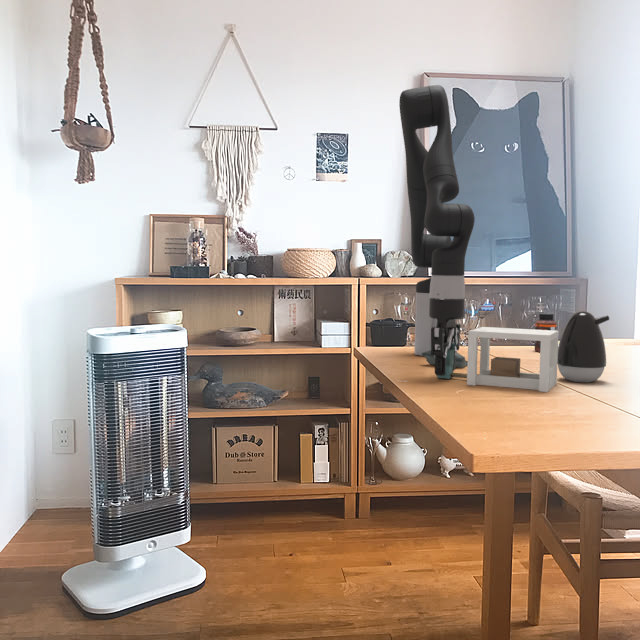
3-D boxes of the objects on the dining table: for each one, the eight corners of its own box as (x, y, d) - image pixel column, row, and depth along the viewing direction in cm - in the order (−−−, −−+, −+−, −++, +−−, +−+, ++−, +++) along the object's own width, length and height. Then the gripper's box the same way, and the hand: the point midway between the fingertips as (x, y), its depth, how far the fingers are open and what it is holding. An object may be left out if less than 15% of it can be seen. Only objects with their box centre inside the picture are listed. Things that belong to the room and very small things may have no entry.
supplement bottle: (558, 353, 203) (560, 314, 202) (537, 352, 203) (539, 313, 202) (551, 350, 209) (553, 312, 208) (531, 350, 209) (533, 312, 208)
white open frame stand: (481, 377, 155) (483, 326, 154) (556, 383, 148) (558, 330, 147) (466, 384, 145) (468, 330, 144) (547, 392, 137) (549, 335, 136)
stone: (428, 366, 180) (416, 359, 171) (431, 351, 180) (420, 343, 171) (468, 374, 175) (459, 366, 166) (472, 358, 175) (462, 350, 166)
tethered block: (442, 375, 156) (442, 348, 155) (519, 381, 148) (520, 353, 148) (435, 378, 151) (435, 350, 151) (514, 385, 144) (515, 356, 143)
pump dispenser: (607, 386, 146) (610, 313, 145) (554, 382, 149) (557, 311, 148) (605, 378, 155) (608, 310, 154) (556, 375, 159) (558, 309, 158)
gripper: (440, 295, 160) (438, 367, 161) (419, 297, 147) (417, 375, 148) (472, 296, 156) (470, 370, 157) (454, 298, 143) (452, 378, 145)
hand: (444, 372), depth 153 cm, fingers open, 6 cm apart
